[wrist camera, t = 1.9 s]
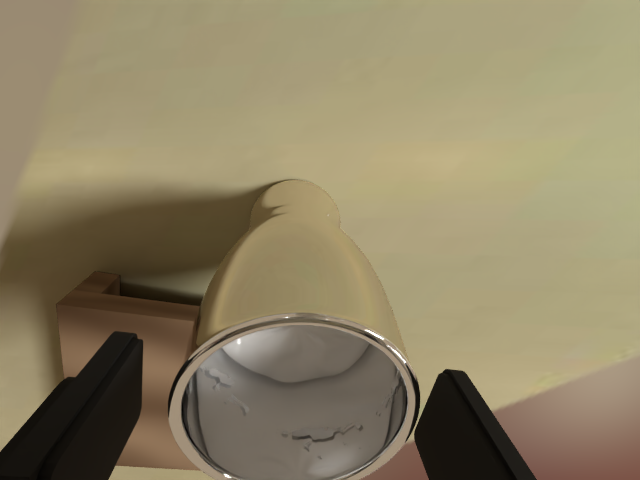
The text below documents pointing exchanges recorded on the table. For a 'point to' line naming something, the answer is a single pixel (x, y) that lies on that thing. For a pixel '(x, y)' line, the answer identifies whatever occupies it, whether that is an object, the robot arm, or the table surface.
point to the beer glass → (294, 354)
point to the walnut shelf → (158, 357)
